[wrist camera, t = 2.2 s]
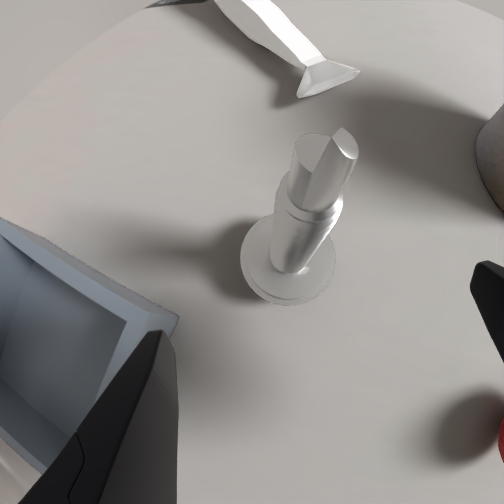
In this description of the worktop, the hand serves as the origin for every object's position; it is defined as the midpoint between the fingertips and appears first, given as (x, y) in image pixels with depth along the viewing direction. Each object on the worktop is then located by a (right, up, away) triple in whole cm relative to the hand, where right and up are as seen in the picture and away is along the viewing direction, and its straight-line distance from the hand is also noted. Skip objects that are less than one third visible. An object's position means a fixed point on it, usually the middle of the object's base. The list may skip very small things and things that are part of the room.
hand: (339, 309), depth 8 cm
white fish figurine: (-1, +19, +15) cm, 24 cm away
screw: (0, +1, +11) cm, 11 cm away
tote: (-14, -5, +10) cm, 18 cm away
